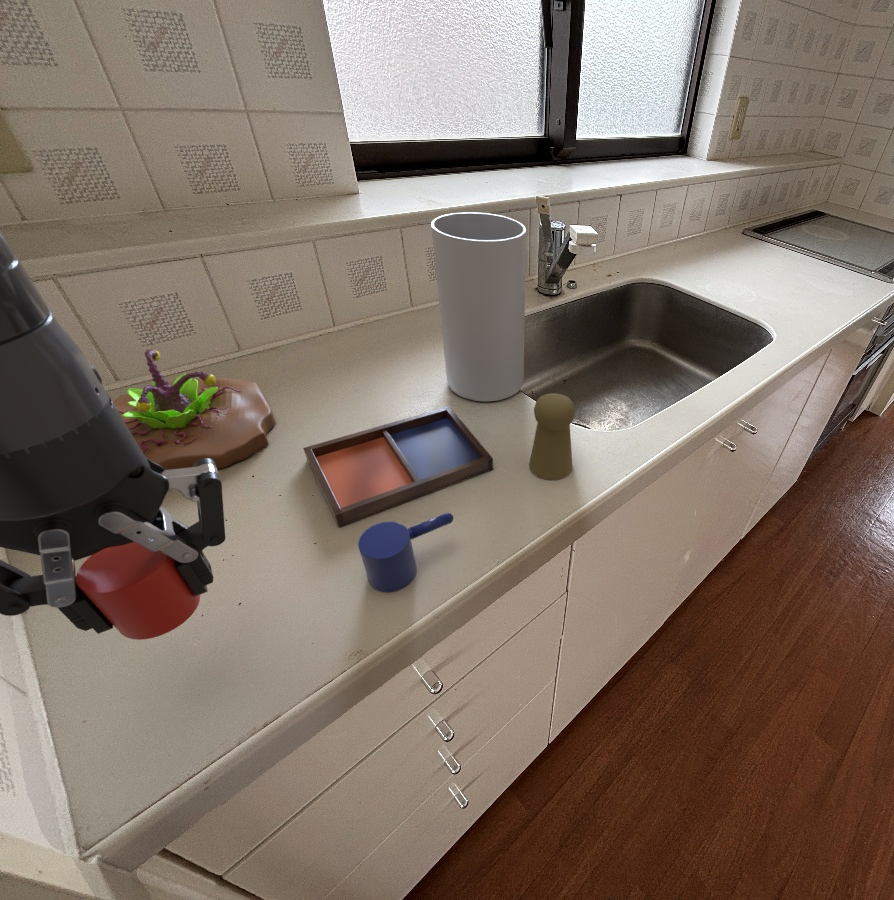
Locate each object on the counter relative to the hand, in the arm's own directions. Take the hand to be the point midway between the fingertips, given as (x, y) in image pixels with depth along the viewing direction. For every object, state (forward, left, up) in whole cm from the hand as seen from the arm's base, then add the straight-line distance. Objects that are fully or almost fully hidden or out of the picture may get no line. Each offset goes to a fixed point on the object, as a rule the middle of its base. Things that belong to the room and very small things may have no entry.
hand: (155, 602), depth 36 cm
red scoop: (0, +2, -1) cm, 3 cm away
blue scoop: (+19, +2, -11) cm, 22 cm away
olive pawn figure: (+40, +9, -12) cm, 43 cm away
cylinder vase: (+42, +32, -11) cm, 54 cm away
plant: (+2, +38, -12) cm, 40 cm away
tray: (+23, +18, -11) cm, 32 cm away
